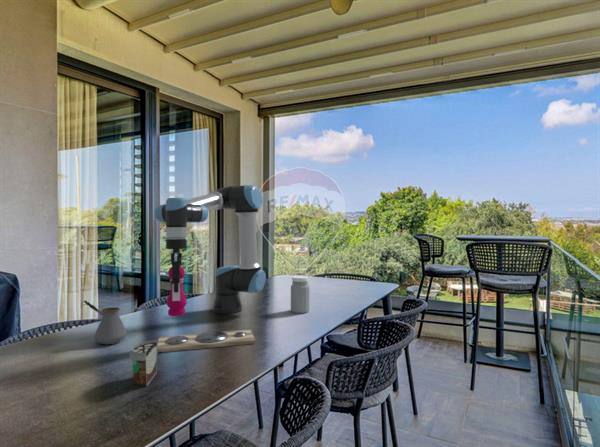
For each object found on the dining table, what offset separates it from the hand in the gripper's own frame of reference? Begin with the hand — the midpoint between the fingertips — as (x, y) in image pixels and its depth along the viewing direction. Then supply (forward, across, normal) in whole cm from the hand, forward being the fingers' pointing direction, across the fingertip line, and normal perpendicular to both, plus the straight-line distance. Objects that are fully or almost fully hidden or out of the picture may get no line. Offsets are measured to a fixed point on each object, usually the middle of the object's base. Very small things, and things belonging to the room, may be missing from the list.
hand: (176, 298), depth 142 cm
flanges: (+16, 0, +17) cm, 23 cm away
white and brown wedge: (+18, +29, -9) cm, 35 cm away
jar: (+18, -35, +59) cm, 71 cm away
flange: (+16, 0, 0) cm, 16 cm away
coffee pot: (+18, -14, -29) cm, 37 cm away
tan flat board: (+18, 0, +11) cm, 21 cm away
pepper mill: (+6, 0, 0) cm, 6 cm away
